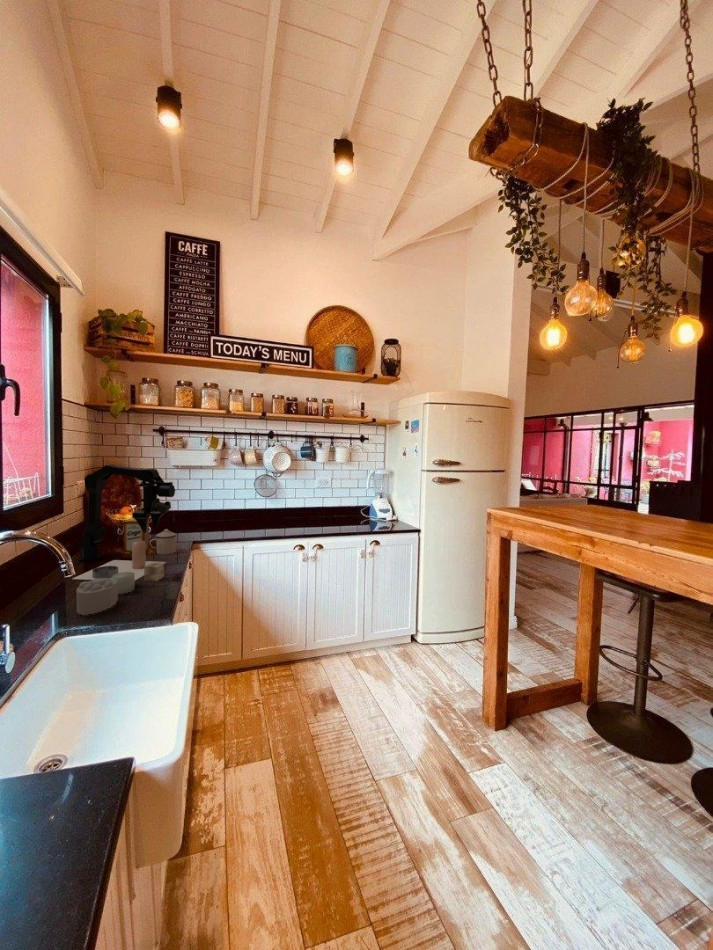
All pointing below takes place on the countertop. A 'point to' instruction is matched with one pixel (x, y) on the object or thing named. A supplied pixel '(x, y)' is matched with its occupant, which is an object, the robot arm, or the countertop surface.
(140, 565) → the pink cylinder
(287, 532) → the countertop surface
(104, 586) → the lumpy-topped squat cylinder
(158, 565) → the birch block
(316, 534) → the countertop surface
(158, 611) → the countertop surface
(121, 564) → the board
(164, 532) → the teacup with lid
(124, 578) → the sage jar
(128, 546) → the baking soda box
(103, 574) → the metal collar
